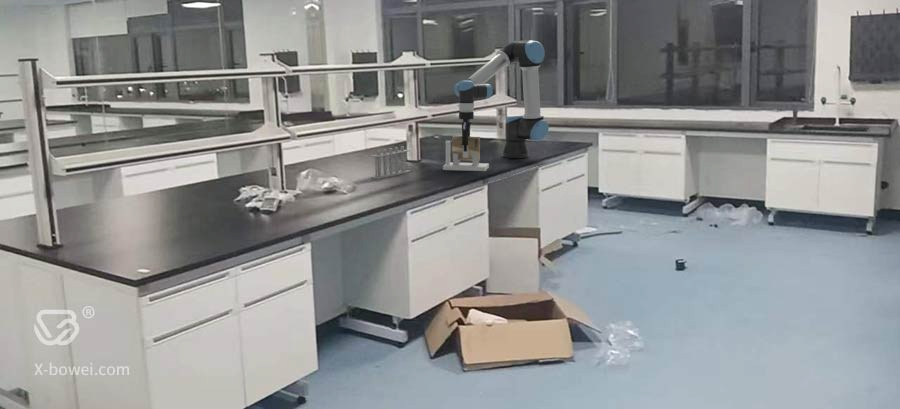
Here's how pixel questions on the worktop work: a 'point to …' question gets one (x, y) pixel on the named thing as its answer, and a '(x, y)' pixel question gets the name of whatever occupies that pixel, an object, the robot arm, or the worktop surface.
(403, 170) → the test tube rack
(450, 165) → the white holder stand
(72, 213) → the worktop surface
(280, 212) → the worktop surface
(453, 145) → the oak door
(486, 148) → the worktop surface
